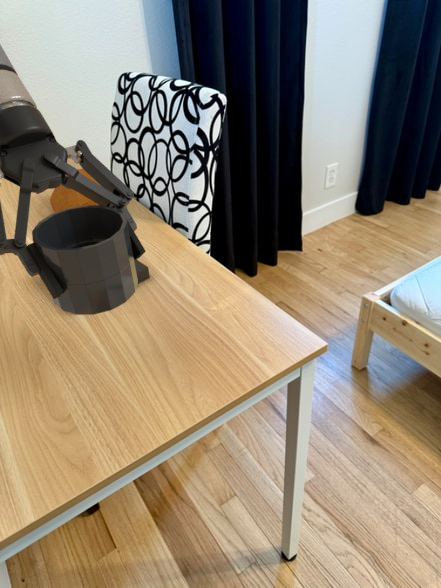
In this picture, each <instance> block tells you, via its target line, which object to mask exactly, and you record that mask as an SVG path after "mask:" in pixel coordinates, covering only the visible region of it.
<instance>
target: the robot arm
mask: <svg viewBox="0 0 441 588" xmlns="http://www.w3.org/2000/svg"><path fill="white" fill-rule="evenodd" d="M68 159H70V160H72V161H73V162H74V164H76V165H78V164H79V166H80V167H81V169H84V170H85V171H86V172H87V173H88V174H89V175H90V176H91V177H92V178H93V179H95V180H96V181H97V182H98V183H99V184H100V185H101V186H100V185H98V184H97V183H95V182H93V181H92V180H90V179H89V178H87V177H85V176H84V175H82V174H80V173H79V171H78V168H76V167H74V166H72V165H71V164H69V163H68ZM65 174H66V175H67V176H68V177H67V176H65ZM2 179H4V180H6V181H7V182H10V183H11V184H14V185H16V186H18V187H19V190H18V191H19V192H18V198H17V199H18V200H17V209H16V218H15V228H14V236H13V238H8V237H7V233H6V226H5V219H4V215H3V207H2V202H1V200H0V256H3V255H5V254H13V255H14V256H16V257H18V259H19V261H20V262H21V264H22V266H23V267H24V269H25V271H26V273H27V274H28V275H29V276H30V277H32V278H33V277H35V276H39V277H40V279H41V280H42V282H43V284H44V285H45V287H46V289H47V291H48V292H49V294H50V295H51V297H53V298H52V300H53V299H56V298H58V297H60V295H61V294H62V292H63V290H62V288H61V286H60V285H59V283H58V281H57V280H56V278H55V276H54V275H53V273H52V271H51V270H50V268H49V266H48V265H47V263H46V262H45V260H44V258H43V257H42V255H41V253H40V252H39V250H38V248H37V247H36V245H35V243H34V242H31V243H28V244H27V237H28V228H29V227H28V226H29V225H28V224H29V217H30V216H29V215H30V206H31V199H32V198H31V197H32V193H33V194H36V195H39V194H42V193H45V191H47V190H49V189H51V190H52V189H53V190H54V189H55V188H57V187H60V184H61V185H63V186H64V187H66V188H68V189H73V190H75V191H77V192H78V193H80V194H82V195H83V196H85V197H87V198H88V199H90V200H92V201H93V202H95V203H97V204H99V205H101V206H106V207H111V208H115V209H116V210H118V211H120V212H122V213H123V214H124V216H125V218H126V220H127V224H128V229H129V235H130V241H131V246H132V252H133V257H134V260H136V259H137V260H139V259H140V258H141V257H142V256H143V255H144V254H145V253H146V252H147V250H146V249H145V247H144V246H143V244H142V242H141V240H140V239H139V237H138V236H137V234H136V232H135V231H136V230H138V225H137V223H136V221H135V219H134V218H133V216H132V215H131V212H130V211H129V209H128V207H127V206H129V204H130V203H131V201H132V200H133V198H134V196H135V193H134V191H133V190H131V188H129V187H128V186H127V185H126V184H125V183H124V182H123V181H122V180H121V179H120V178H119V177H117V176H116V174H114V172H112V171H111V170H110V169H109V168H108V167H107V166H106V165H105V164H103V162H102V161H100V159H98V158H97V157H96V156H95V155H94V154H93V153H92V151H91V149H90V148H89V146H88V145H87V143H86V142H85V141H84V140H83V139H78V140H77V141H76V143H75V145H71V146H68V147H64V146H63V145H61V143H59V142H58V141H57V139H56V137H55V134H54V132H53V131H52V129H51V127H50V126H49V124H48V122H47V121H46V119H45V117H44V116H43V114H42V112H41V111H40V110H39V109H38V108H37V104H36V102H35V100H34V99H33V97H32V95H31V93H30V92H29V90H28V89H27V87H26V86H25V84H24V83H23V80H22V79H21V77H20V76H19V74H18V73H17V71H16V69H15V68H14V66H13V64H12V62H11V61H10V59H9V56H8V55H7V53H6V51H5V50H4V48H3V47H2V45H1V44H0V187H1V186H2Z"/></svg>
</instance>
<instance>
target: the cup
mask: <svg viewBox="0 0 441 588" xmlns="http://www.w3.org/2000/svg"><path fill="white" fill-rule="evenodd" d="M31 237H32V243H35V245H36V247H37V248H38V250H39V252H40V253H41V255H42V257H43V258H44V260H45V262H46V263H47V265H48V266H49V268H50V270H51V271H52V273H53V275H54V276H55V278H56V280H57V281H58V283H59V285H60V286H61V288H62V290H63V292H62V294H61V295H60V297H58V298H56V299H53V297H52V296H51V297H52V300H53V303H54V304H55V305H56V306H57V307H58V308H59V309H60V310H61V311H63V312H67V313H69V314H73V315H76V316H77V315H79V316H80V315H81V316H82V315H83V316H84V315H85V316H87V315H88V316H89V315H91V316H93V315H98V314H102V313H106V312H109V311H113V310H114V309H116V308H118V307H120V306H122V305H123V304H125V303H126V302H128V301H129V300H130V299H131V298H132V296H133V295H135V293H136V291H137V288H138V285H139V284H138V279H137V274H136V268H135V263H134V257H133V252H132V246H131V241H130V235H129V229H128V224H127V220H126V218H125V216H124V214H123V213H122V212H120V211H118V210H116V209H115V208H111V207H106V206H101V205H86V206H78V207H73V208H67V209H64V210H62V211H59V212H54V213H51V214H49V215H47V216H46V217H45V218H42V219H41V220H40V221H38V223H37V224H36V225H35V226H34V228H33V229H32V231H31Z"/></svg>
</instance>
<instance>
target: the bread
mask: <svg viewBox="0 0 441 588" xmlns="http://www.w3.org/2000/svg"><path fill="white" fill-rule="evenodd" d="M77 170H78V171H79V173H80V174H82V175H84V176H85V177H87V178H89V179H90V180H92V181H93V182H95V183H97V184H98V185H100V184H99V183H98V182H97V181H96V180H95V179H93V178H92V177H91V176H90V175H89V174H88V173H87V172H86V171H85V170H84V169H83V168H77ZM65 176H67V175H66V174H65ZM67 177H68V176H67ZM100 186H101V185H100ZM49 203H50V206H51V209H52V210H53V212H54V213H56V212H59V211H62V210H64V209H67V208H73V207H78V206H86V205H99V204H97V203H95V202H93V201H92V200H90V199H88V198H87V197H85V196H83V195H82V194H80V193H78V192H77V191H75V190H73V189H68V188H66V187H64V186H63V185H61V184H60V187H57V188H53V192H52V193H51V196H50V197H49Z"/></svg>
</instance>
